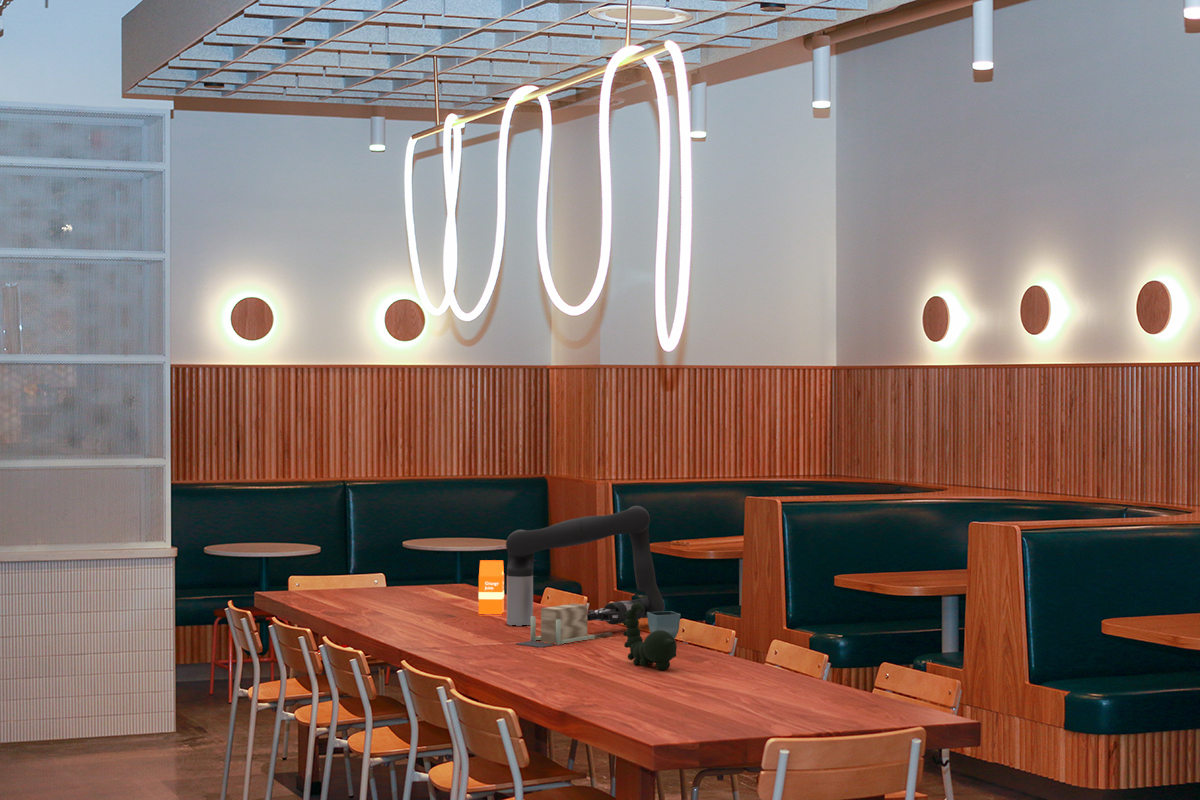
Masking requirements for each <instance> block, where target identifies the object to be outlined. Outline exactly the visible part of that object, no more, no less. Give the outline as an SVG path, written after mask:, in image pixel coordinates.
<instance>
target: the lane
mask: <svg viewBox="0 0 1200 800" xmlns="http://www.w3.org/2000/svg"><path fill="white" fill-rule="evenodd" d="M593 635H595V638H598V639H600V638H599V637H604V638H606V637H605V636H610V637H613V631H612V632H611V631H607V632H600V633H595V634H593Z"/></svg>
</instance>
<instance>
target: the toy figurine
mask: <svg viewBox="0 0 1200 800" xmlns="http://www.w3.org/2000/svg"><path fill="white" fill-rule="evenodd" d="M639 610H641V611H642V612H643V611H644V609H643V606H642V604H640V603H634V604H633V605H632V606H631V609H630V610H628V611H627V612H626V613H624V616H625V617H626V618H627V620H626V621H624V622H623V623H622V624H623V626H624V627H626V631H623V633H622V635H623V636H625V637H627V640H626V641H625V642H624V648H625V649H626V648H627V649H628V648H629V653H628V654H627V659H628V660H629V661H632V662H633V665H635V666H639V665H641V666H643V667H647V666H648V665H653V664H655V668H656V669H657V670H659V671H666V670H668V669H669V668H670V667H671V662H670V661H671V660H672V659H674V658H676V657H677V647H678V646H677V643H676V642H677V641H676V638H675V639H674V638H673V636H672V635H671V634H670V633H668V632H666V631H663V630H657V631H654V632H652V633H651V632H650V633H649V634H648V635H647V636H646V638H645V639H644V641H643V638H642V636H641V629H640V627H639V625H640V622H639V621H640V620H639V619H637V612H638V611H639Z"/></svg>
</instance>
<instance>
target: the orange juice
mask: <svg viewBox="0 0 1200 800" xmlns="http://www.w3.org/2000/svg"><path fill="white" fill-rule="evenodd" d="M504 568H505V567H504V560H496V559H493V560H492V559H491V560H487V559H485V560H483V559H482V560H479V573H478V615H479V614H502V613H503V612H504V613H505V573H504V571H505V570H504ZM504 613H503V614H504Z"/></svg>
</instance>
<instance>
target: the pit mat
mask: <svg viewBox="0 0 1200 800" xmlns="http://www.w3.org/2000/svg"><path fill="white" fill-rule="evenodd" d="M517 644H518V646H524V645H526V646H525V647H531V646H534V648H539V647H543V648H547V647H546V646H549V647H553V646H552V645H555V646H557V645H556V644H551V643H544V642H541V641H531V640H528V641H522V642H516V643H515V645H517Z"/></svg>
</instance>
